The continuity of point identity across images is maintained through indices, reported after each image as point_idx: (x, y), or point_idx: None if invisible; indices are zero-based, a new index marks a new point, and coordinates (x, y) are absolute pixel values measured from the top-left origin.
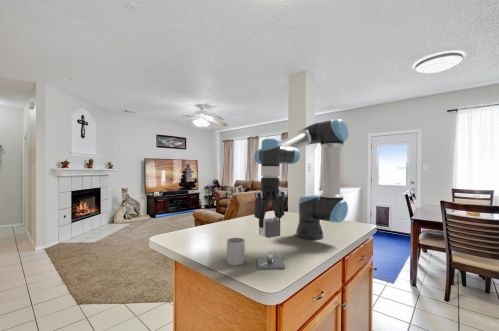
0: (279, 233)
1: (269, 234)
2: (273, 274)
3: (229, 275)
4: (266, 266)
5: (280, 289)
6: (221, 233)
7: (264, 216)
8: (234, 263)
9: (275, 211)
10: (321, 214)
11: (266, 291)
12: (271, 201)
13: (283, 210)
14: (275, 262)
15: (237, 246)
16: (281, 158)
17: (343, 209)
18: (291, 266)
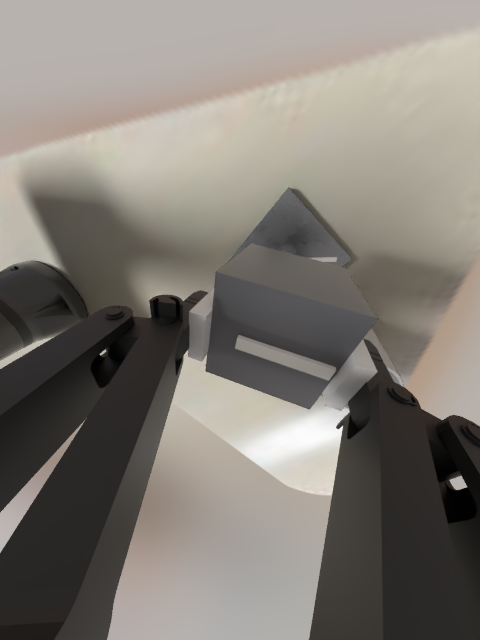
0: (253, 248)
1: (338, 271)
2: (361, 185)
3: (451, 295)
4: (334, 239)
5: None
6: (220, 434)
7: (382, 403)
8: (372, 329)
9: (169, 388)
10: None
11: None
12: (108, 616)
13: (69, 337)
14: (283, 238)
15: (387, 359)
16: None
17: None
18: (254, 185)
